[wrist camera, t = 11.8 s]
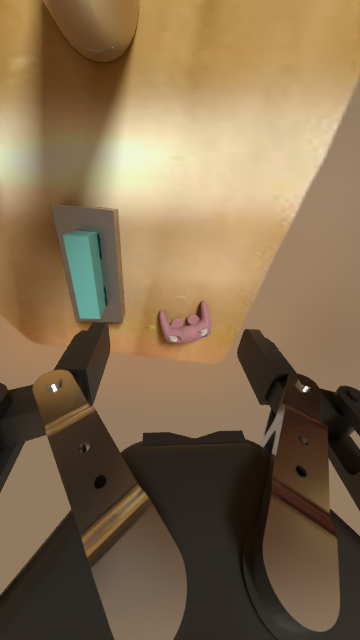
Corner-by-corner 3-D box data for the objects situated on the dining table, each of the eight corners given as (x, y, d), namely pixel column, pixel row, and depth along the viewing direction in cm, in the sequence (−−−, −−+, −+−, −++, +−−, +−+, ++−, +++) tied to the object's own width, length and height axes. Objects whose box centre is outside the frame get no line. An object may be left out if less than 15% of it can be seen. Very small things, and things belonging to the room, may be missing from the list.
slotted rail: (61, 204, 29) (50, 204, 26) (117, 209, 30) (113, 210, 27) (82, 311, 38) (76, 321, 35) (125, 313, 39) (122, 322, 36)
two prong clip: (81, 227, 31) (62, 234, 25) (102, 229, 31) (88, 236, 25) (93, 298, 37) (80, 318, 31) (109, 299, 37) (100, 318, 31)
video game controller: (161, 320, 43) (166, 350, 39) (156, 308, 39) (160, 340, 35) (207, 310, 42) (215, 339, 39) (206, 297, 39) (215, 328, 35)
